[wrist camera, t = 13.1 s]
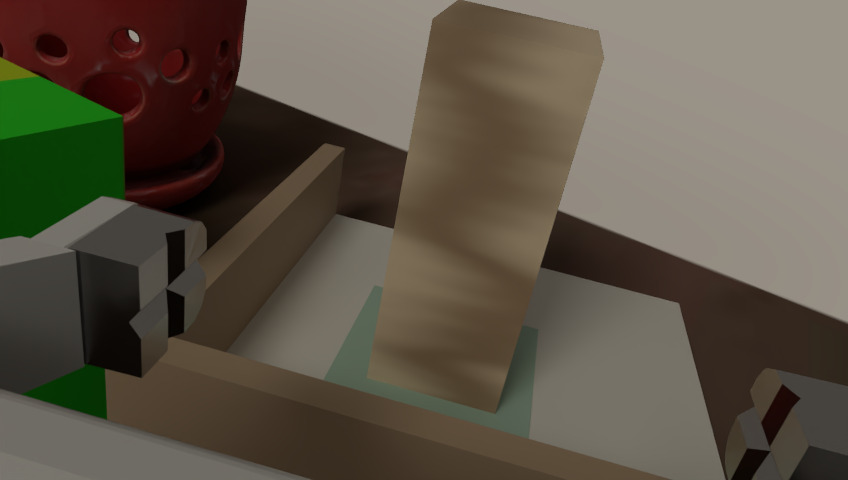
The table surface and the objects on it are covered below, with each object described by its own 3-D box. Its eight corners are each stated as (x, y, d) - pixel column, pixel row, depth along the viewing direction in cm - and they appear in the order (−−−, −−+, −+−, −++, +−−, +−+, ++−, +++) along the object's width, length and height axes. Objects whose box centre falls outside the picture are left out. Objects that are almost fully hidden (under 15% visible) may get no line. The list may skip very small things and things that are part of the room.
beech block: (507, 339, 27) (598, 30, 21) (495, 414, 23) (604, 57, 17) (397, 309, 27) (459, -1, 22) (366, 377, 23) (432, 18, 18)
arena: (671, 320, 32) (706, 238, 30) (753, 671, 17) (834, 557, 15) (314, 226, 34) (324, 143, 32) (109, 473, 19) (103, 345, 17)
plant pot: (-54, 135, 36) (-92, -119, 30) (201, 132, 42) (208, -76, 37) (-61, 261, 26) (-118, -76, 21) (269, 231, 33) (292, -28, 27)
